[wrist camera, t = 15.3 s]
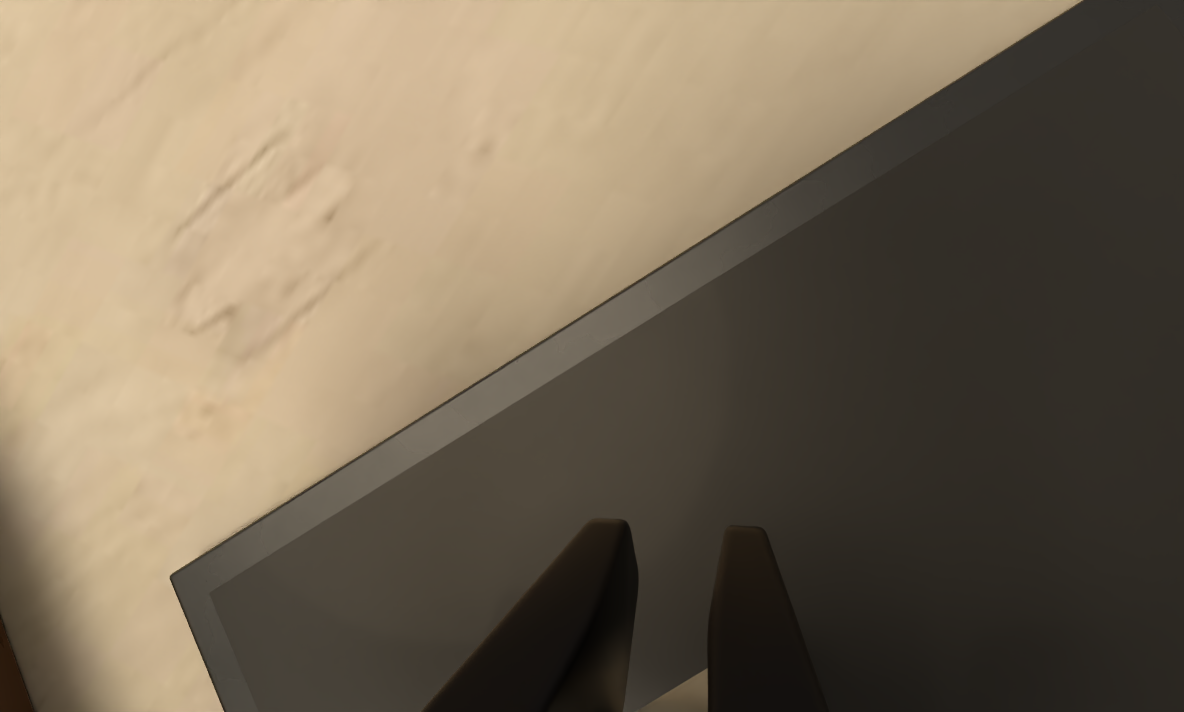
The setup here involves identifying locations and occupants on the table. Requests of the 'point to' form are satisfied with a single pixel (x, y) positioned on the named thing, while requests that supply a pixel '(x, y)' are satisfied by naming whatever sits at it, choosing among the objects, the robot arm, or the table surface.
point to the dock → (11, 680)
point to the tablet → (813, 429)
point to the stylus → (683, 697)
